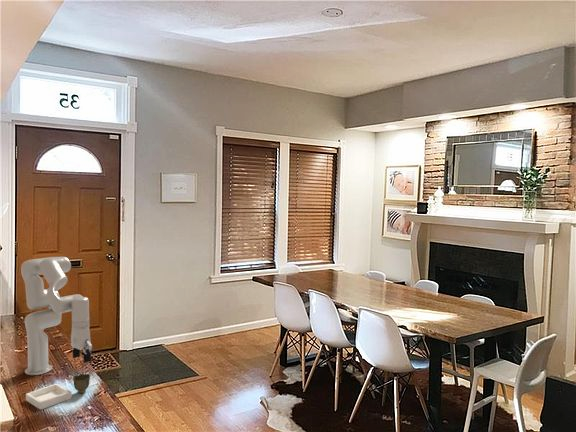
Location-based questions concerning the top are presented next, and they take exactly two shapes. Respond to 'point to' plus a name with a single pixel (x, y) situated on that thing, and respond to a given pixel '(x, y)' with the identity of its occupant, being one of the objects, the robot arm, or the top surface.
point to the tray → (48, 396)
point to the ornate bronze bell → (81, 382)
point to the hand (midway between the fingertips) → (81, 359)
